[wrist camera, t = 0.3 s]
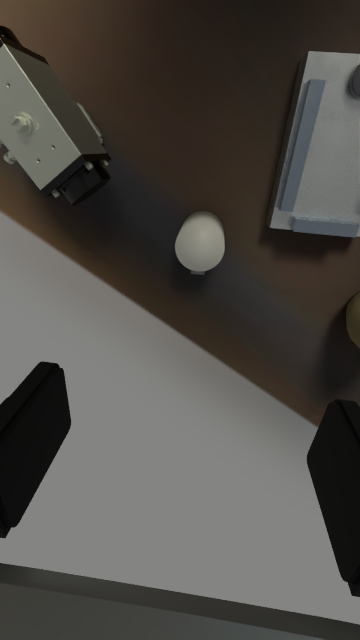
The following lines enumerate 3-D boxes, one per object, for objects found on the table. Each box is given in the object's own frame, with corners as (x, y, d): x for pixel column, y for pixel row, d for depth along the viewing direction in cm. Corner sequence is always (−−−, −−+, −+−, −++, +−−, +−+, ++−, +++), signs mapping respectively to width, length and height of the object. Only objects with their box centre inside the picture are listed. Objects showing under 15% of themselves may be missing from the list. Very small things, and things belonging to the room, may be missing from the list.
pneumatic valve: (58, 54, 28) (-34, 0, 18) (133, 170, 32) (93, 180, 22) (21, 94, 30) (-82, 67, 20) (96, 199, 34) (44, 221, 24)
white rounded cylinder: (182, 208, 34) (176, 220, 29) (226, 213, 34) (228, 225, 28) (178, 264, 37) (172, 282, 32) (218, 268, 37) (218, 287, 32)
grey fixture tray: (300, 60, 26) (314, 45, 23) (416, 68, 26) (452, 53, 22) (265, 221, 34) (272, 231, 30) (356, 230, 33) (375, 241, 29)
